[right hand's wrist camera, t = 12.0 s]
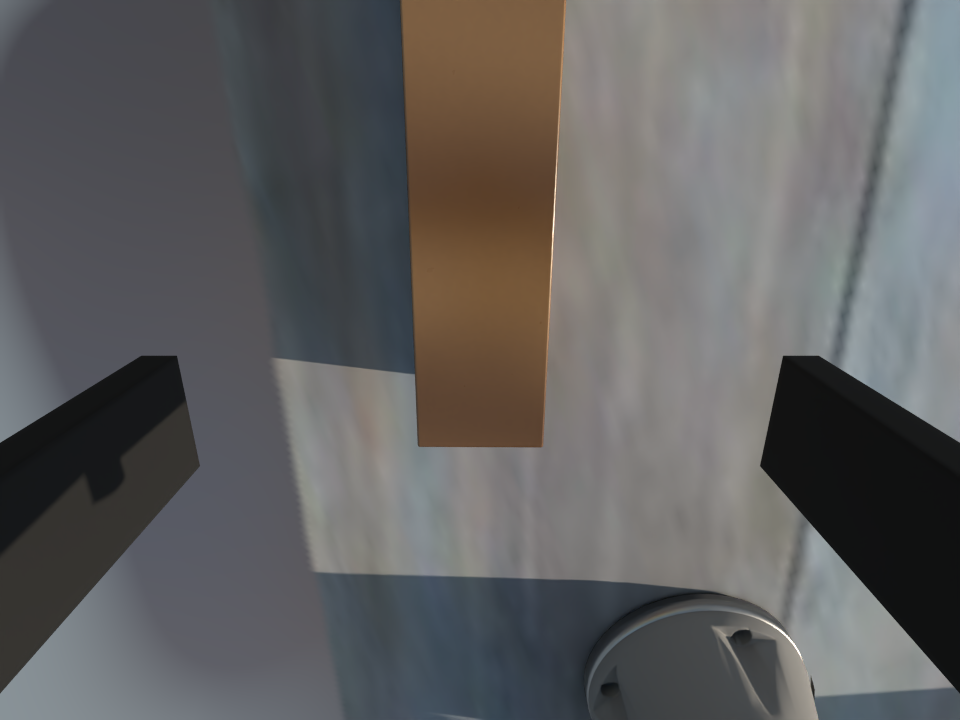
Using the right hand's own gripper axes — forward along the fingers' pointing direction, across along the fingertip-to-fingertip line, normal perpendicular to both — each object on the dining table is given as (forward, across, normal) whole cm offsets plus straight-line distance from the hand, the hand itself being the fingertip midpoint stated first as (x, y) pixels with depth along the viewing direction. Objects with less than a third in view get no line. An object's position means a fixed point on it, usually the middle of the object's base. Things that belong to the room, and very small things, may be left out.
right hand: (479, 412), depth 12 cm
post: (+19, 0, -34) cm, 39 cm away
